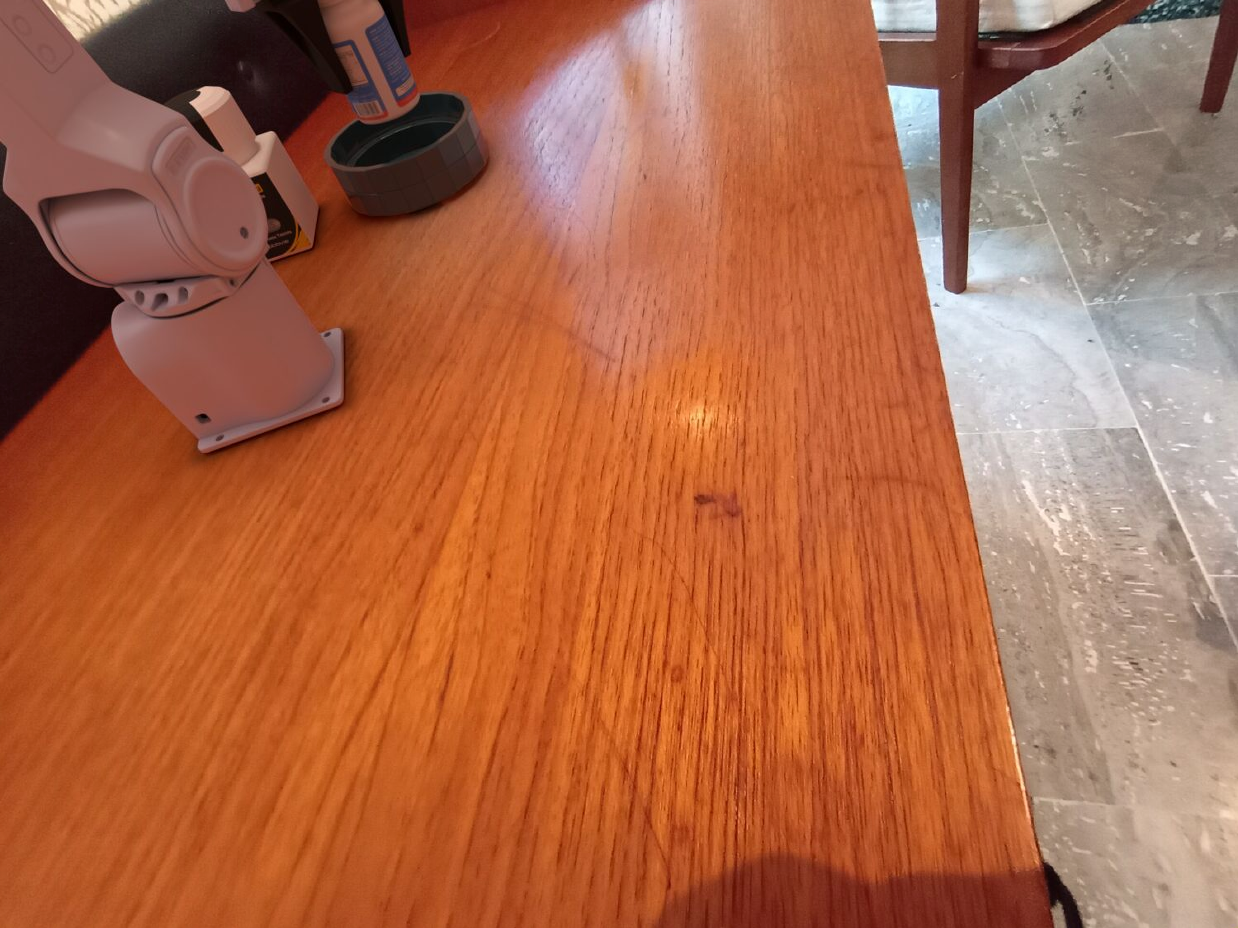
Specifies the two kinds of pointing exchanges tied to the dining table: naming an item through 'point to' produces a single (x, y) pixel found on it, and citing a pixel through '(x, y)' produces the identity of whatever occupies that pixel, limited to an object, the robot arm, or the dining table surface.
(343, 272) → the dining table surface
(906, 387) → the dining table surface
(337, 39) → the pill bottle
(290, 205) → the medicine bottle
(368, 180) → the bowl
